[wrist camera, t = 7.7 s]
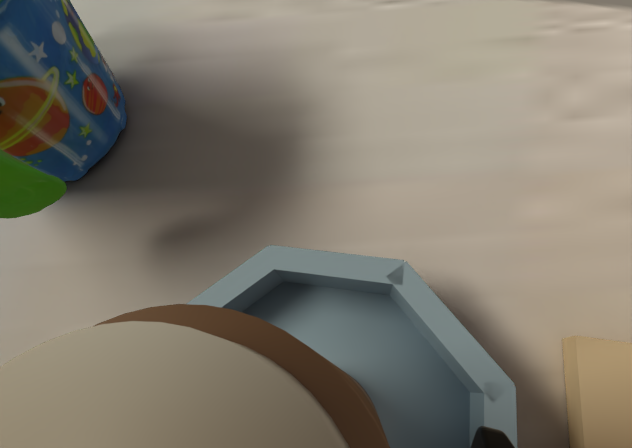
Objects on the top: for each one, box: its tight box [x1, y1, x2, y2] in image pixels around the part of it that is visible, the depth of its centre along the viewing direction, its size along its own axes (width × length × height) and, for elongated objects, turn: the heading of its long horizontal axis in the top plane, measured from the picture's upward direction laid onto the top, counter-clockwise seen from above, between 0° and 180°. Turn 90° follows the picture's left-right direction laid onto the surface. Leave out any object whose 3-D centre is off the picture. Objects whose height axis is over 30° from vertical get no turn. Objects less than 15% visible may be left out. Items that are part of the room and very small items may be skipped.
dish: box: [187, 245, 517, 448], centre depth 13 cm, size 12×12×3 cm
